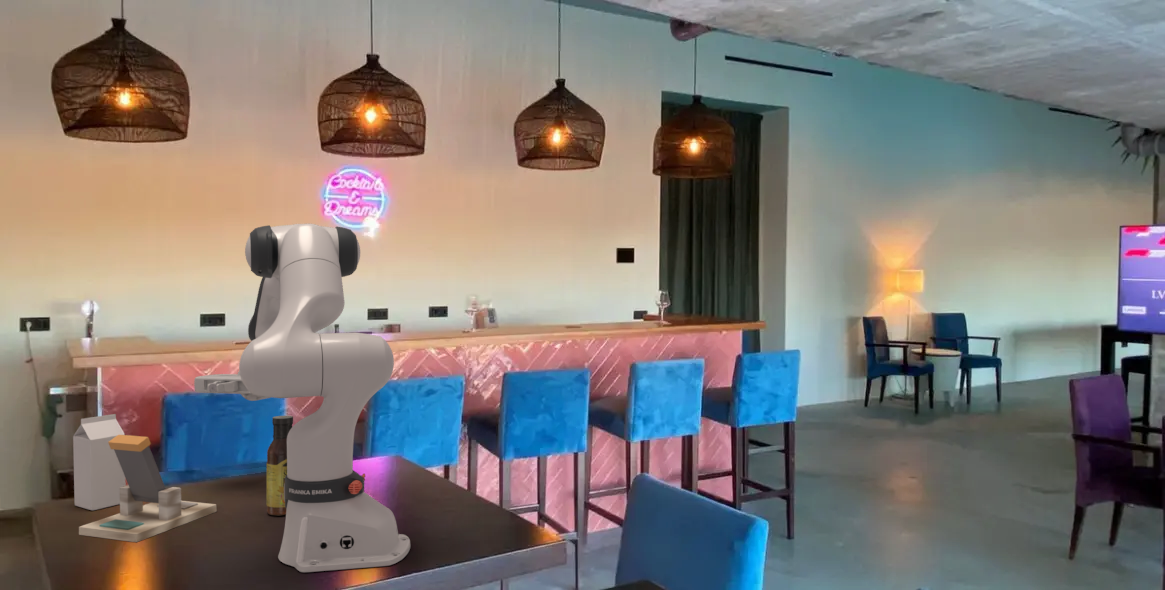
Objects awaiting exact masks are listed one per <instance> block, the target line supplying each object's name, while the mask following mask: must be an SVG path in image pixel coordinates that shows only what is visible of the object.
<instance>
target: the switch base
mask: <svg viewBox="0 0 1165 590" xmlns="http://www.w3.org/2000/svg"><path fill="white" fill-rule="evenodd" d="M158 496H159V503H152V502H148V503H145V504H144V503H143V501H135V500H134V497H133V495H132V492H131V490H130V487H129V485H128V484H126V486H123V487H120V504H119V513H116V514H114V515H110V516H107V517H105V518H104V517H103V518H101V519H98V520H96V521H92V522H89V523H86V524H83V525H81V526H78V535H79V536H86V537H95V538H100V539H109V540H117V541H124V542H131V543H138V542H141V541H144V540H146V539H149V538H151V537H154V536H156V535H159V534H162V533H164V532H167V531H169V530H172V529H174V528H178V527H180V526H183V525H186V524H188V523H191V522H194V521H196V520H198V519H201V518H203V517H206V516H209V515H211V514H214V513H216V512H217V510H218V509H217V504H216V503H208V502H207V503H206V502H200V501H199V502H197V501H188V500H182V488H181V487H176V486H172V487H168V488H166V489H165V490H162V491H159V492H158Z"/></svg>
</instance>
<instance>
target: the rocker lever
mask: <svg viewBox="0 0 1165 590" xmlns="http://www.w3.org/2000/svg"><path fill="white" fill-rule="evenodd" d="M108 443H109V446H110V448H111V449H114V451H115V453H116V456H117V458H118V461H119V463H120V466H121V468H122V470H123V473H124V475H125V481H126V483H127V485H129V487H130V490H131V492H132V495H133V497H134V500H135V501H143V502H146V503H159V496H158V492H159V491H162V490H165V489H167V488H166V486H165V484H164V481H163V478H162V476H161V473H160V471H159V468H158V465H157V464H156V461H155V458H154V455H153V453H152V451H151V448H150V445H152V442H151V440H150V438H149V436H143V435H141V436H139V435H129V434H126V435H117V436H116V437H114V438H113V439H112V440H110V441H109V442H108Z"/></svg>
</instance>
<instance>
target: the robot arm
mask: <svg viewBox="0 0 1165 590" xmlns="http://www.w3.org/2000/svg"><path fill="white" fill-rule="evenodd" d="M244 255H245V256H244V257H245V259H246V262H247V264H248V266H249V268H250V272H251V273H253V274H254V275H255V276H258V277H261V281H260V284H259V287H258V292H257V295H256V296H257V297H256V301H255V307H254V311H253V312H254V313H253V315H252V316H251V319H250V320H249V324H248V327H247V333H248V334H247V335H248V338H249V341H250V342H249V343H248V345H247V346H246V347H245V348H244V350H243V351H242V354H241V356H240V360H239V363H238V364H239V365H238V368H239V370H238V371H237V374H236V373H232V374H231V373H221V374H220V373H218V374H208V375H207V374H206V375H199V376H196V377H194V381H193V383H194V384H193V385H194V387H193V388H194V392H195V393H197V394H198V393H199V394H200V393H202V394H227V395H228V394H230V395H231V394H236V395H241V397H243V398H244V399H245V400H247V401H251V402H253V401H254V402H255V401H260V400H265V399H271V398H273V399H292V398H306V397H307V398H308V397H322V398H323V401H322V403H321V404H320V407H319V408H318V409H317V410H316V411H315V412H313V413H311V414H309V415H306V416H305V417H304V418H302V419H300V420H299V421H297V422H296V423H295V424H293V425H292V428H291V429H290V431H289V433H288V436H287V475H286V476H285V484H284V501H285V507H286V508H287V509H286V515H285V522H284V528H283V529H284V530H283V535H282V540H281V544H280V548H279V549H280V550H279V552H278V555H277V558H278V560H279V562H282V563H283V564H285V565H286V566H287V565H288V566H291V567H294V568H295V569H296V570H297V571H299V572H300V573H314V572H324V571H325V572H327V571H338V570H351V569H362V568H374V567H376V568H377V567H389V566H392V565H394V564H396V563H398V562H400V561H402V560H403V559H404V558H405V557H406V556H407V555H408V554H409V552H410V549H411V540H410V538H409V536H407V535H406V534H403V533H401V534H400V533H399V531H398V525H397V520H396V517H395V515H394V513H393V511H392V510H391V509H390V508H388V507H387V506H385V505H383V504H382V503H380V502H379V501H378V500H376V499H375V498H374V497H372V496H371V495H370V494H368V493H366V492H365V481H366V478H365V477H366V473H363V474H359V473H358V472H356V471H355V470H354V469H353V468H354V467H353V466H354V462H353V461H354V457H353V455H354V440H355V439H354V438H355V430H356V425H357V423H358V419H359V417H360V415H361V413H362V411H363V409H364V408H365V406H366V405H367V403H368V402H369V400H370V399H371V398H372V397H373V396H374V395H375V394H376V393H377V392H379V391H380V390H381V389H383V388H384V387H385V386H386V384H387V383H388V382H389V380H390V379H391V377H392V374H393V371H394V366H395V365H394V364H395V359H394V353H393V350H392V348H391V346H390V345H389V343H388V342H387V340H386V339H384V337H382V336H381V335H375V334H370V333H362V332H358V331H357V332H333V333H332V332H328V333H327V332H326V333H324V332H323V333H318V332H320V331H321V330H323V329H325V328H327V327H329V326H331V325H333V323H334V322H335V321H336V320H337V319H339V317H340V316H341V315H342V314H343V311H344V308H345V297H344V296H345V295H344V287H343V286H344V285H343V278H345V277H347V276H350V275H353V274H354V273H355V271H356V270H357V269H358V265H359V262H360V260H361V246H360V243H359V240H358V239H357V234H355V233H354V232H353V231H352V230H351V229H350V228H347V227H344V226H343V227H341V226H335V227H332V226H323V225H319V224H316V223H294V224H293V223H292V224H285V225H276V226H275V225H274V226H270V225H268V224H267V225H263V226H259V227H256V228H254V229H252V231H250V233H249V237H248V238H247V240H246V242H245V247H244Z"/></svg>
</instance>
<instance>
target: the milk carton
mask: <svg viewBox="0 0 1165 590" xmlns="http://www.w3.org/2000/svg"><path fill="white" fill-rule="evenodd" d="M116 416H117V414H116V413H114V414H113V413H112V414H106V415H99V416H94V417H93V416H91V417H85V418H81V419H80V425H79V426H78V428H77V430H76V431H75V433H74V434H73V436H72V445H73V449H72V450H73V451H72V452H73V484H74V485H73V490H74V491H73V492H74V494H73V495H74V506H76V507H79V508H83V509H84V510H85V509H86V510H88V511H89V510H90V511H96V510H101V509H105V508H109V507H113V506H118V505H120V487H123V486H126V485H127V484H126V483H127V481H126V478H125V475H124V473H123V470H122V468H121V466H120V463H119V461H118V458H117V456H116V453H115V451H114V449H111V448H110V446H109V443H108V442H109V441H110V440H112V439H113V438H114V437H116V436H117V435H125V434H126V433H125V432H124V430H123V429H122V426H120V424H119V421H118V420H117V417H116Z"/></svg>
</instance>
